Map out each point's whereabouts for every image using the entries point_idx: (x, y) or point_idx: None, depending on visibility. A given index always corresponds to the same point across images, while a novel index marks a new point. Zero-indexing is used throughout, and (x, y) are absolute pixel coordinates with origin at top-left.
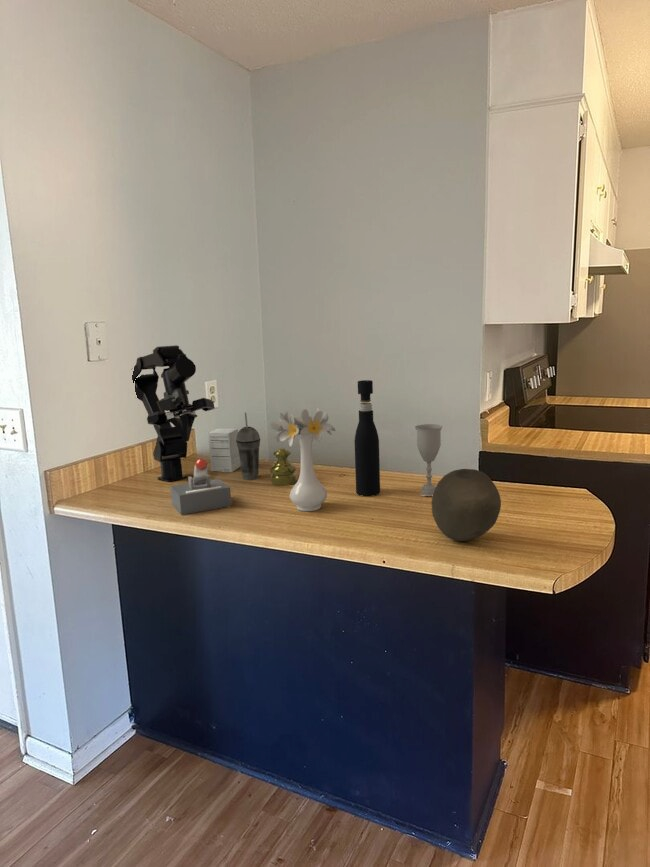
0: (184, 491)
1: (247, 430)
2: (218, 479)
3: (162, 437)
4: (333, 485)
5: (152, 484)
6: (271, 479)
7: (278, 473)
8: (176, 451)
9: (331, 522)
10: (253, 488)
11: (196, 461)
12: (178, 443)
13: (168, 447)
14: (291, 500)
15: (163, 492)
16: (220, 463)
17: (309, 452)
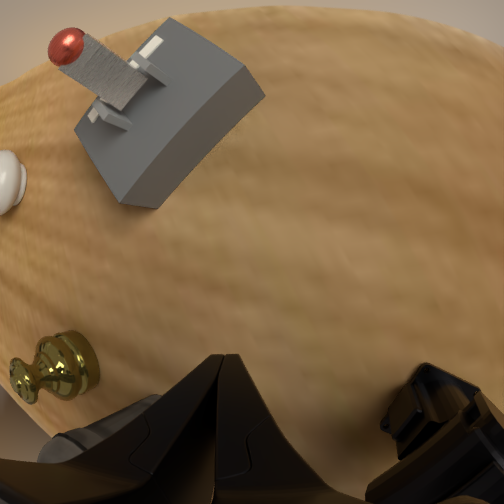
0: (169, 44)
1: None
2: (116, 194)
3: (500, 473)
4: (20, 326)
5: (476, 325)
6: (84, 350)
7: (52, 337)
8: (408, 455)
9: (5, 137)
10: (111, 305)
11: (70, 28)
12: (397, 491)
13: (449, 438)
14: (16, 158)
15: (384, 224)
16: None
17: None
